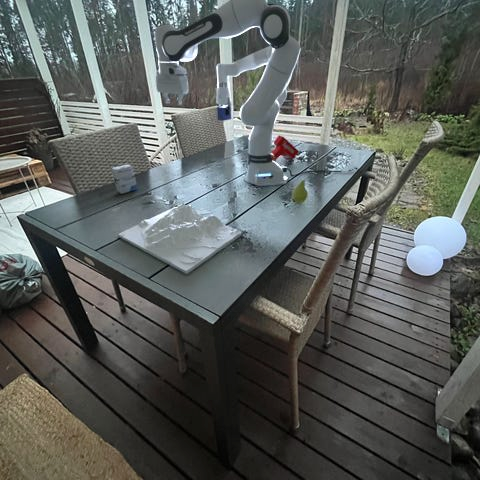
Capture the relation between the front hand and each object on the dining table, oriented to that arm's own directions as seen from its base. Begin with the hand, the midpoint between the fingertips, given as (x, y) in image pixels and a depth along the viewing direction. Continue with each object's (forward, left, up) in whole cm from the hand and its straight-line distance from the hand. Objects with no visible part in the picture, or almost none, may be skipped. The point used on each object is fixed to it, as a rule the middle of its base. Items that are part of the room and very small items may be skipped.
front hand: (173, 103), depth 130 cm
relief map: (-11, +62, -36) cm, 73 cm away
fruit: (-59, +33, -36) cm, 77 cm away
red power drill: (-60, -32, -36) cm, 77 cm away
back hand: (-20, -63, -14) cm, 68 cm away
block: (-20, -63, -17) cm, 69 cm away
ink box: (+24, +19, -36) cm, 48 cm away
